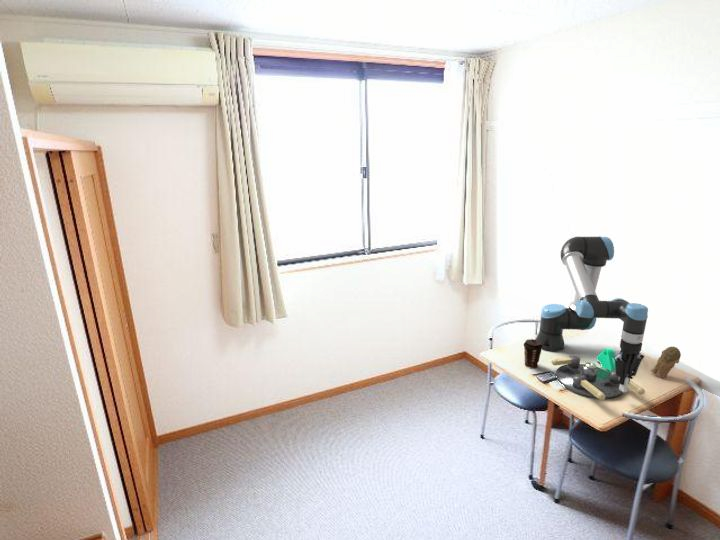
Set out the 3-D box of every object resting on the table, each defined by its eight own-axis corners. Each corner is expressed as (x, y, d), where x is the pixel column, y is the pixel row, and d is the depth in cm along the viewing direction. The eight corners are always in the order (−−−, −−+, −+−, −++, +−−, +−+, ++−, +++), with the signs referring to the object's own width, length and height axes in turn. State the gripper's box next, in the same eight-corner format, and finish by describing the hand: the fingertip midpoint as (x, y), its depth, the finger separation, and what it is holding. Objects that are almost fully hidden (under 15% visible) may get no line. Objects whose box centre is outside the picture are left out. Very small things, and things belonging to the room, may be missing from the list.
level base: (543, 370, 206) (545, 352, 203) (593, 364, 210) (596, 347, 208) (581, 402, 179) (584, 382, 177) (638, 395, 184) (642, 375, 181)
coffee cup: (533, 360, 216) (535, 337, 212) (544, 367, 208) (546, 344, 205) (518, 362, 214) (520, 339, 210) (529, 370, 206) (531, 346, 203)
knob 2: (606, 379, 192) (608, 369, 191) (616, 378, 193) (618, 368, 192) (637, 400, 176) (639, 390, 174) (647, 399, 177) (649, 389, 175)
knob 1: (570, 383, 189) (571, 374, 188) (579, 382, 190) (581, 373, 189) (597, 406, 173) (598, 395, 171) (608, 404, 174) (609, 394, 172)
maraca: (574, 363, 207) (575, 354, 206) (581, 368, 203) (582, 359, 201) (548, 366, 205) (549, 357, 204) (554, 371, 200) (555, 362, 199)
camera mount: (625, 373, 202) (629, 354, 199) (610, 374, 202) (613, 355, 199) (610, 361, 213) (613, 343, 211) (596, 362, 213) (598, 343, 210)
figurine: (649, 374, 200) (654, 345, 196) (661, 371, 203) (666, 343, 199) (666, 382, 193) (672, 353, 189) (678, 379, 195) (685, 350, 191)
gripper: (624, 346, 167) (616, 397, 174) (652, 342, 169) (643, 393, 176) (610, 338, 174) (603, 387, 181) (638, 335, 176) (629, 384, 183)
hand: (622, 390), depth 178 cm, fingers closed
